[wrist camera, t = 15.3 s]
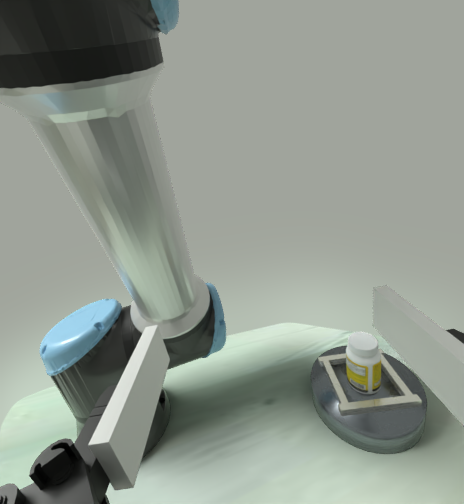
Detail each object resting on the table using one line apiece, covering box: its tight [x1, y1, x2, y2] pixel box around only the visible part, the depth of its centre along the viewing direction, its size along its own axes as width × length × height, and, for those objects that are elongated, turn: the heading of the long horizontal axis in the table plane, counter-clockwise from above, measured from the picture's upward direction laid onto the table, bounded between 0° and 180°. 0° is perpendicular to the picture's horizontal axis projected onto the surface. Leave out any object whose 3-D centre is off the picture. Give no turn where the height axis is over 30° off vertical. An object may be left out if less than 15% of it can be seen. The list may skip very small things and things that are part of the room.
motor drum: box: [311, 346, 427, 454], centre depth 39 cm, size 16×16×5 cm
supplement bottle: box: [346, 332, 381, 394], centre depth 37 cm, size 5×5×8 cm
